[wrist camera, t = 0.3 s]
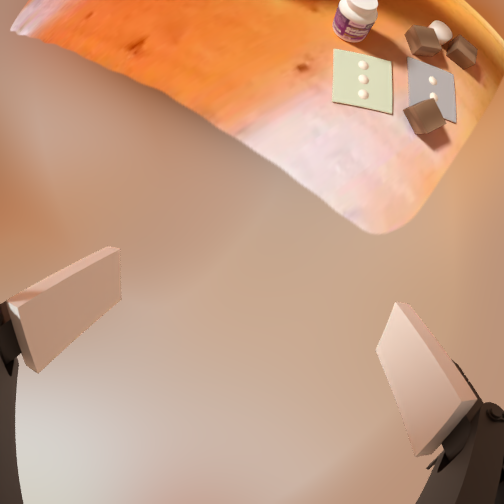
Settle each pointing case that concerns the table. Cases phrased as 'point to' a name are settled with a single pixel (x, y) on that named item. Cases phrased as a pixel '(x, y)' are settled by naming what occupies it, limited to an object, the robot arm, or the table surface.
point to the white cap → (441, 31)
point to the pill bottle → (355, 19)
